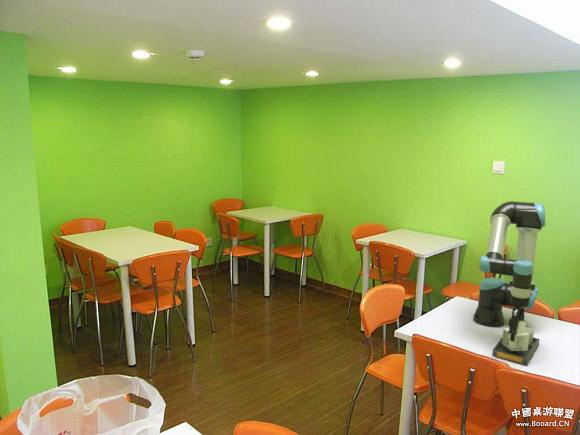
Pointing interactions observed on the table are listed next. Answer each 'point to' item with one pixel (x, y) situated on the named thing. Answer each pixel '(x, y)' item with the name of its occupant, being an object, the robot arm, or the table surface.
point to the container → (521, 337)
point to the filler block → (530, 332)
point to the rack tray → (516, 352)
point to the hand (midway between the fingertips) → (514, 343)
